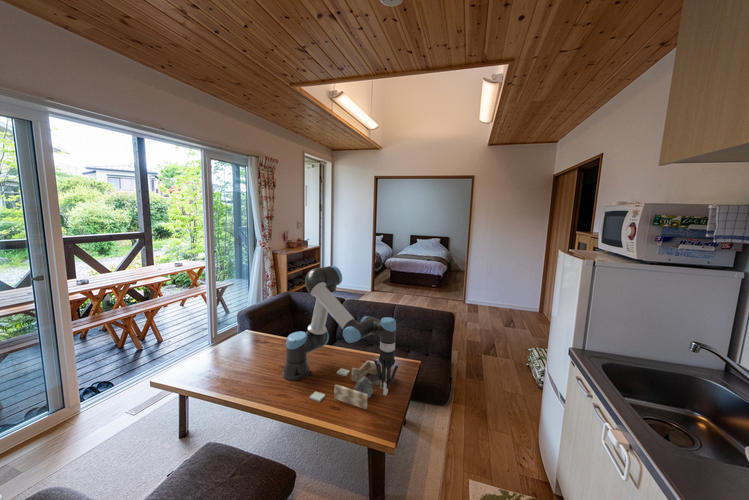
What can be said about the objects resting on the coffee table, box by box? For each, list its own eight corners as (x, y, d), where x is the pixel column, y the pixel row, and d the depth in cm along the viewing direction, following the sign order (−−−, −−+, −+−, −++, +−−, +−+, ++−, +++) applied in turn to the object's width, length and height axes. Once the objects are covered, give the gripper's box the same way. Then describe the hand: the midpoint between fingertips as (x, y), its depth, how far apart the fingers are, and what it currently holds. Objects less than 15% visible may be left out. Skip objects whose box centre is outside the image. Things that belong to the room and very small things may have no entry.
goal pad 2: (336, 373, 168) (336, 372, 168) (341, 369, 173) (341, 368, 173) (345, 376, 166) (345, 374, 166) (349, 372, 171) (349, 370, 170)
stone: (363, 382, 143) (367, 371, 153) (348, 391, 146) (353, 380, 155) (375, 397, 143) (378, 385, 153) (360, 406, 146) (364, 394, 155)
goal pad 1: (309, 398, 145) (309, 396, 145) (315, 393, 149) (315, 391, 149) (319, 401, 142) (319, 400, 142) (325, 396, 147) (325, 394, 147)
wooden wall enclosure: (334, 398, 145) (334, 385, 145) (361, 369, 174) (362, 358, 173) (367, 409, 138) (368, 396, 137) (390, 377, 166) (391, 366, 166)
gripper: (372, 349, 141) (370, 394, 144) (397, 355, 136) (395, 401, 138) (378, 343, 148) (376, 386, 150) (402, 348, 143) (400, 393, 145)
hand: (385, 393), depth 144 cm, fingers closed
